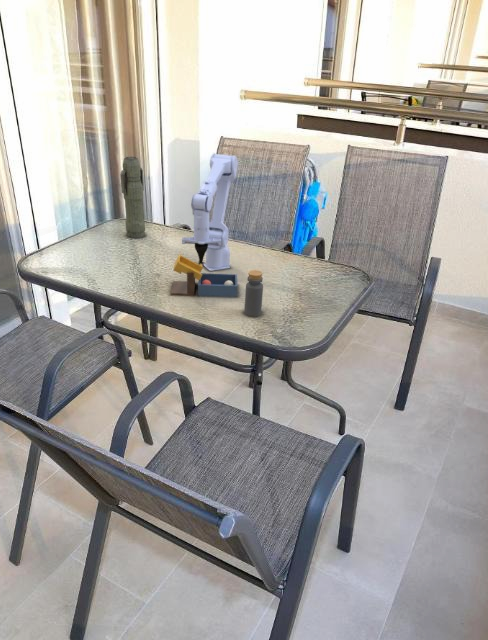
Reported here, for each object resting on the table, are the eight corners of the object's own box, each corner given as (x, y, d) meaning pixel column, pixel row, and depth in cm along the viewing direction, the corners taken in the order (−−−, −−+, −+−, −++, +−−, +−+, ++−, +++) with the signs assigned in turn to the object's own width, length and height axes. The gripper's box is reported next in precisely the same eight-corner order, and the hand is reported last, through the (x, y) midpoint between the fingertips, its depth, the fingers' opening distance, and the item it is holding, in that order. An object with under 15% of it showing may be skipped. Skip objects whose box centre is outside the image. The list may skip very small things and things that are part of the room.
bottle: (243, 309, 178) (245, 269, 170) (259, 309, 179) (263, 269, 171) (245, 316, 173) (247, 276, 165) (262, 316, 174) (265, 276, 166)
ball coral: (203, 286, 193) (211, 281, 192) (206, 292, 191) (213, 287, 190) (198, 281, 190) (206, 276, 189) (201, 288, 188) (208, 282, 187)
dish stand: (171, 295, 186) (170, 272, 181) (173, 282, 195) (173, 261, 191) (193, 295, 186) (193, 273, 181) (195, 283, 196) (195, 262, 191)
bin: (198, 296, 186) (198, 284, 184) (199, 283, 196) (199, 272, 193) (237, 297, 187) (237, 286, 184) (236, 284, 196) (236, 274, 194)
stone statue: (120, 236, 239) (113, 158, 220) (137, 230, 247) (132, 154, 229) (134, 240, 235) (129, 161, 216) (151, 234, 243) (147, 157, 225)
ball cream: (223, 283, 192) (232, 285, 193) (222, 290, 190) (231, 292, 191) (226, 277, 189) (235, 279, 190) (224, 284, 187) (234, 287, 188)
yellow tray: (173, 270, 182) (178, 261, 181) (176, 256, 195) (180, 247, 193) (198, 283, 185) (204, 274, 183) (200, 268, 198) (205, 260, 196)
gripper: (181, 230, 184) (181, 265, 191) (221, 231, 185) (219, 266, 192) (182, 224, 190) (182, 258, 197) (221, 225, 191) (220, 260, 198)
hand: (201, 262), depth 195 cm, fingers closed, pressing on yellow tray
